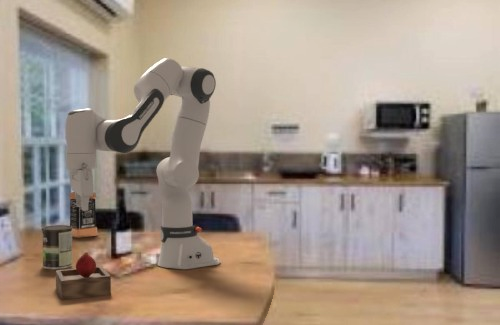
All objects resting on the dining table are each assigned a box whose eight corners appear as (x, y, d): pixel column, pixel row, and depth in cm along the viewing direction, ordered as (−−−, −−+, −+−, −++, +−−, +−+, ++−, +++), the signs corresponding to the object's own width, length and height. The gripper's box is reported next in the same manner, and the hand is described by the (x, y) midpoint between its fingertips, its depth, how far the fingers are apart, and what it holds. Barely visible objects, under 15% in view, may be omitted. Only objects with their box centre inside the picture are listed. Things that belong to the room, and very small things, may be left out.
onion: (85, 281, 172) (84, 254, 172) (72, 279, 175) (71, 253, 175) (100, 277, 177) (99, 251, 177) (87, 275, 180) (86, 249, 180)
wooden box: (102, 283, 186) (101, 266, 186) (110, 294, 174) (110, 276, 173) (56, 288, 181) (55, 270, 180) (61, 299, 168) (61, 280, 168)
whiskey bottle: (88, 233, 280) (87, 166, 279) (98, 235, 273) (97, 167, 272) (67, 235, 273) (66, 167, 272) (77, 238, 266) (76, 168, 265)
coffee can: (43, 270, 204) (43, 230, 203) (41, 264, 213) (41, 226, 212) (74, 268, 208) (73, 228, 207) (71, 262, 217) (70, 224, 216)
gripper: (98, 164, 168) (99, 212, 168) (86, 161, 186) (87, 204, 187) (75, 164, 165) (76, 213, 166) (66, 161, 184) (67, 205, 184)
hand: (82, 208), depth 177 cm, fingers open, 8 cm apart
